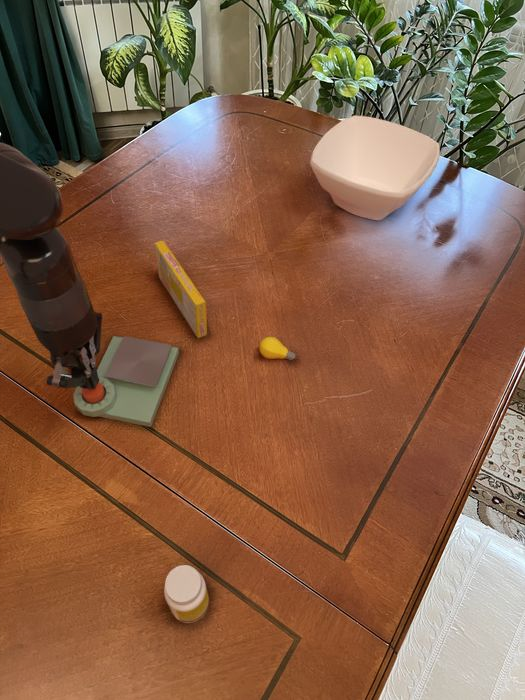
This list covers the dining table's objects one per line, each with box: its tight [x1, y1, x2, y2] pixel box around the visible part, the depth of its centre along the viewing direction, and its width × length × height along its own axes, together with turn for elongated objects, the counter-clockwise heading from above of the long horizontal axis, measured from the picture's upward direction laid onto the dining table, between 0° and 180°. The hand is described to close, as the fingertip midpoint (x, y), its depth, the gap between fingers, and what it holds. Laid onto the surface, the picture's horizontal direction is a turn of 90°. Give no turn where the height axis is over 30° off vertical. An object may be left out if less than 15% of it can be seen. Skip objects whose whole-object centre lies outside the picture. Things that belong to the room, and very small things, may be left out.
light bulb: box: [258, 336, 296, 361], centre depth 91 cm, size 3×6×4 cm, turn 76°
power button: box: [82, 382, 105, 403], centre depth 84 cm, size 3×3×2 cm
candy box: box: [154, 239, 208, 339], centre depth 95 cm, size 16×2×8 cm, turn 30°
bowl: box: [309, 115, 441, 221], centre depth 111 cm, size 22×22×12 cm
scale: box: [72, 335, 180, 428], centre depth 87 cm, size 15×12×3 cm
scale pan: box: [105, 335, 173, 388], centre depth 87 cm, size 8×8×1 cm
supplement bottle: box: [163, 564, 210, 624], centre depth 66 cm, size 5×5×8 cm
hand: (90, 384), depth 82 cm, fingers closed
